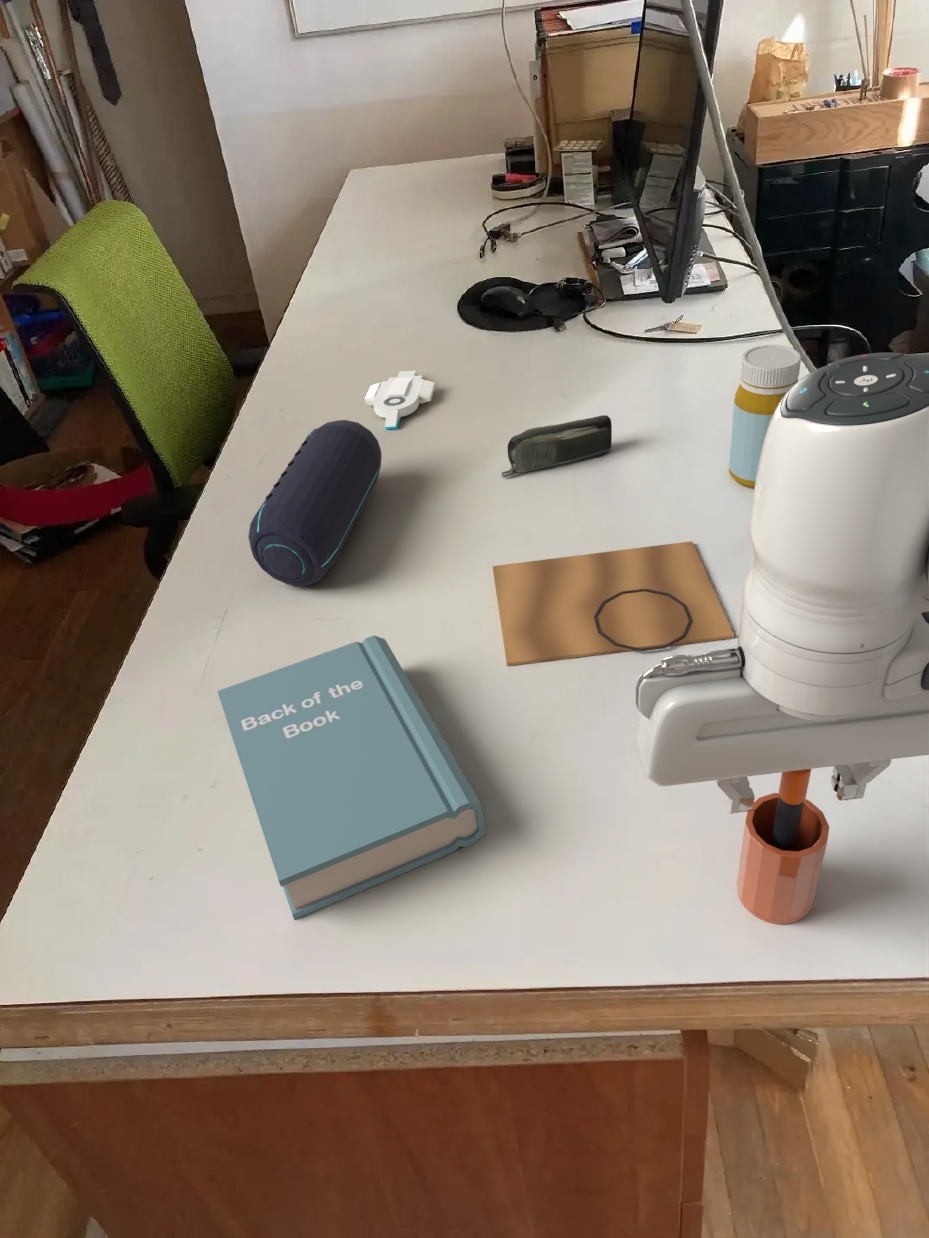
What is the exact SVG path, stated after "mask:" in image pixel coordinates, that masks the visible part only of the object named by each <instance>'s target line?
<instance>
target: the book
mask: <svg viewBox="0 0 929 1238" xmlns="http://www.w3.org/2000/svg"><path fill="white" fill-rule="evenodd" d="M217 694H218V697H219V701H220V704H221V707H222V710H223V713H224V716H225V719H226V722H227V723H226V724H227V725H228V729H229V732H230V735H231V738H232V741H233V744H234V747H235V750H236V754H237V756H238V760H239V762H240V766H241V768H242V771H243V775H244V778H245V781H246V784H247V787H248V791H249V792H250V797H251V799H252V803H253V805H254V806H253V807H254V809H255V811H256V815H257V818H258V821H259V825H260V826H261V830H262V831H261V832H262V833H263V837H264V840H265V843H266V846H267V849H268V853H269V855H270V858H271V861H272V865H273V867H274V870H275V874H276V877H277V880H278V883H279V885H280V887H282V888H283V891H284V893H285V894H284V895H285V897H286V900H287V903H288V907H289V909H290V913H291V915H292V918H293V921H294V920H298V919H299V918H302V917H305V916H307V915H309V914H311V913H313V912H316V911H319V910H321V909H323V908H326V907H329V906H330V905H332V904H336V903H337V902H340V901H341V900H345V899H346V898H348V897H351V896H354V895H356V894H359V893H361V892H363V891H365V890H368V889H370V888H372V887H375V886H377V885H380V884H382V883H384V882H386V881H389V880H391V879H394V878H396V877H398V876H400V875H404V874H406V873H408V872H411V871H412V870H415V869H417V868H419V867H422V866H424V865H426V864H429V863H431V862H434V861H436V860H439V859H441V858H443V857H445V856H448V855H450V854H452V853H454V852H456V851H457V850H458V849H459V848H460V847H463V848H467V847H468V846H472V845H474V844H476V843H477V842H478V841H479V840H480V838H481V837H482V836H483V835H484V834H485V833H486V824H485V818H484V813H483V812H484V811H483V805H482V803H481V801H480V799H479V798H478V797H477V795H476V793H475V791H474V790H473V787H472V786H471V784H470V783H469V781H468V779H467V777H466V776H465V774H464V772H463V771H462V769H461V767H460V765H459V764H458V761H457V760H456V759H455V757H454V755H453V753H452V752H451V750H450V748H449V747H448V745H447V743H446V741H445V740H444V737H442V735H441V733H440V732H439V729H438V728H437V726H436V724H435V722H434V720H433V719H432V717H431V716H430V714H429V713H428V711H427V708H426V707H425V705H424V704H423V702H422V700H421V698H420V697H419V695H418V693H417V692H416V690H415V689H414V686H413V685H412V683H411V681H410V680H409V678H408V676H407V674H406V673H405V671H404V669H403V667H402V666H401V664H400V662H399V661H398V659H397V657H396V656H395V653H394V652H393V650H392V648H391V647H390V645H389V643H388V642H387V640H386V639H385V638H383V637H380V636H378V635H371V636H368V637H366V638H363V641H362V642H360V641H353V642H351V643H348V644H346V645H343V646H339V647H337V648H334V649H331V650H328V651H326V652H323V653H320V654H318V655H314V656H312V657H309V658H305V659H304V660H301V661H298V662H295V663H292V664H289V665H287V666H283V667H281V668H278V669H275V670H272V671H270V672H266V673H263V674H261V675H258V676H255V677H252V678H250V679H247V680H244V681H242V682H241V681H240V682H238V683H236V684H233V685H230V686H227V687H224V688H222V689H219V690H217Z"/></svg>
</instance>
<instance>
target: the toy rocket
mask: <svg viewBox="0 0 929 1238" xmlns="http://www.w3.org/2000/svg"><path fill="white" fill-rule="evenodd" d="M423 377H424V376H423V375H417V370H401V371H399V372H398V374H397V376H392V377H391V376H390V377H388V379H387V380H383V381H381V382H377V383H373V384H371V385H370V386H369V388H368V391H367V392H366V395H365V397H364V398H363V400H364V401H365V405H366V406H373V410H374V413H375V415H376V416H378V417H380V418H383V419H385V420H384V421H385V422H384V428H385V430H397V429H398V427H399V424H400V422H401V418H402V417H406V416H409V415H411V414H413V413H414V412H415V411H417V409H418V408H419V405H422V404H424V403H427V402H430V401H432V398H433V395H434V392H435V390H436V385H435V383H436V382H435V381H431V380H426V379H425V378H423Z"/></svg>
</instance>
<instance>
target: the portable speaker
mask: <svg viewBox="0 0 929 1238" xmlns="http://www.w3.org/2000/svg"><path fill="white" fill-rule="evenodd" d="M381 467H382V450H381V446H380V443H379V440H378V438H377V437H376V436H375V435H374V434H373V432H372V431H371V430H370V429H368V428H367V427H365V426H364V425H362V423H359V422H358V421H357V422H356V421H352V420H348V419H339V420H338V419H337V420H333V421H332V420H331V421H328V422H326V423H324V424H322V425H321V426H319V427H317V428H314V429H312V430H311V431H310V433H308V434H307V436H306V438H305V439H304V440H303V441H302V442H301V444H300V446H299V448H298V450H297V451H295V453H294V455H293V457H292V459H291V460H290V461H289V462H288V464H287V466H286V468H285V469H284V471H283V472H281V474H280V477H279V478H278V480H277V481H276V483H274V484H273V485H272V487H273V488H272V489H271V491H270V492H269V493H268V494H267V495H266V496H265V499H264V501H263V503H262V504H261V505H260V507H259V508H258V510H257V511H256V513H255V514H254V516H253V517H252V520H251V522H250V524H249V531H248V541H249V547H250V550H251V553H252V556H253V559H254V560H255V561H256V563H257V565H258V566H259V567H260V569H261V570H263V572H265V573H266V574H267V575H269V576H270V577H271V578H273V579H274V580H276V581H278V582H281V583H283V584H286V585H288V586H294V587H300V588H301V587H305V586H311V585H313V584H314V583H317V582H318V581H321V579H323V578H324V577H325V575H326V574H327V573H328V571H329V570H330V569H331V568H332V566H333V565H334V564H335V562H336V561H337V559H338V557H339V556H340V553H341V551H342V549H343V548H344V545H345V543H346V542H347V540H348V538H349V536H350V534H351V532H352V530H353V528H354V526H355V525H356V522H357V521H358V518H359V516H360V515H361V513H362V511H363V509H364V507H365V505H366V503H367V501H368V499H369V497H370V495H371V493H372V491H373V489H374V487H375V485H376V483H377V482H378V479H379V476H380V472H381Z"/></svg>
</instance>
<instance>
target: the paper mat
mask: <svg viewBox="0 0 929 1238" xmlns="http://www.w3.org/2000/svg"><path fill="white" fill-rule="evenodd" d="M492 572H493V579H494V586H495V594H496V600H497V607H498V614H499V621H500V627H501V633H502V642H503V649H504V654H505V655H504V656H505V661H506V666H507V667H511V666H518V665H525V664H533V663H534V664H535V663H542V662H550V661H559V660H567V659H568V660H569V659H574V658H583V657H592V656H600V655H607V654H616V653H625V652H631V651H637V652H646V651H654V650H662V649H667V648H669V647H671V646H680V645H689V644H696V643H697V644H698V643H705V642H713V641H720V640H721V641H722V640H729V639H730V640H731V639H735V633H734V631H733V629H732V627H731V624H730V623H729V620H728V618H727V616H726V613H725V611H724V609H723V607H722V605H721V602H720V600H719V597H718V596H717V593H716V591H715V589H714V587H713V584H712V582H711V580H710V578H709V575H708V573H707V571H706V568H705V566H704V564H703V562H702V560H701V558H700V555H699V553H698V550H697V548H696V546H695V543H694V541H693V540H689V541H681V542H674V543H665V544H657V545H651V546H643V547H635V548H634V547H633V548H625V549H619V550H611V551H610V550H609V551H603V552H595V553H594V552H593V553H587V554H586V553H585V554H578V555H571V556H561V557H554V558H546V559H538V560H530V561H522V562H513V563H506V564H498V565H493V566H492Z"/></svg>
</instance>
